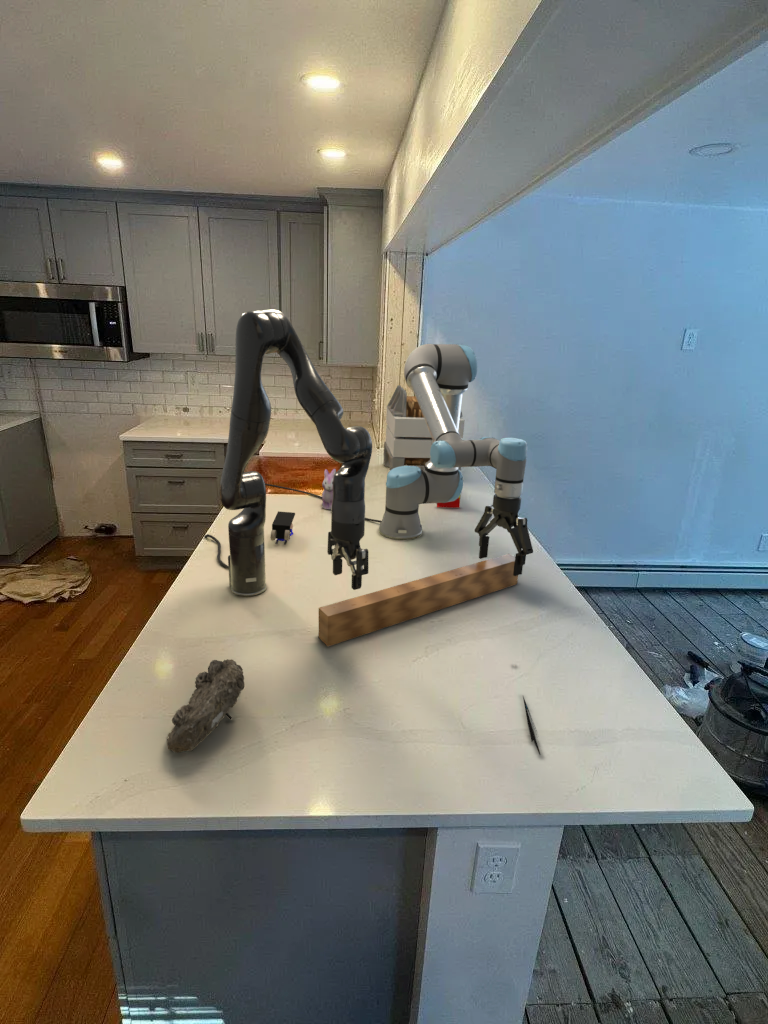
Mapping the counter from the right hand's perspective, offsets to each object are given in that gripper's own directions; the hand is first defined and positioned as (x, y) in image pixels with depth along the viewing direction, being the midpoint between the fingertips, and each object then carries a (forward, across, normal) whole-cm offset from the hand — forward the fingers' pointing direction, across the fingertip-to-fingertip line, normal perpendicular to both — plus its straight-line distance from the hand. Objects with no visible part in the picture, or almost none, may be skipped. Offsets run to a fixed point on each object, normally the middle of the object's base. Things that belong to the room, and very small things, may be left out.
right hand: (499, 566), depth 163 cm
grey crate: (+4, -106, +54) cm, 119 cm away
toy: (+5, -71, +40) cm, 82 cm away
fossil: (+7, +11, -88) cm, 89 cm away
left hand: (-8, 0, -51) cm, 52 cm away
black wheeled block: (+6, -62, -39) cm, 73 cm away
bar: (+7, 0, -25) cm, 26 cm away
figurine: (+5, -83, -8) cm, 84 cm away
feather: (+8, +41, -34) cm, 54 cm away
